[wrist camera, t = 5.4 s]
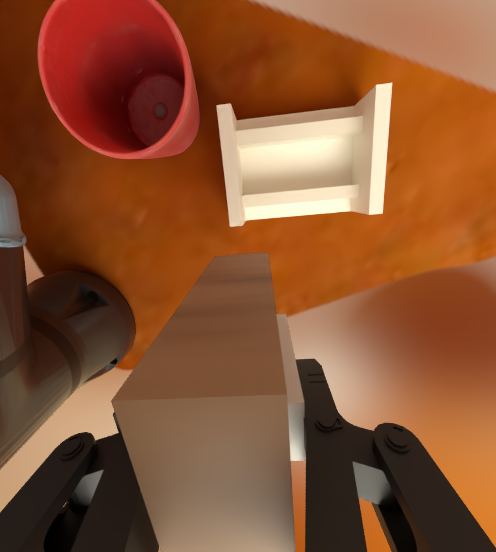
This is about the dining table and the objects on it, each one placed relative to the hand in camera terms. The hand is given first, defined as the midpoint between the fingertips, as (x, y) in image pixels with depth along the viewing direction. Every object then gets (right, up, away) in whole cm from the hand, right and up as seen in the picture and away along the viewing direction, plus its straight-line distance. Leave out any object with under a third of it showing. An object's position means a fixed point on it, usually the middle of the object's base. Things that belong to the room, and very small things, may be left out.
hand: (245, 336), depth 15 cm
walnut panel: (0, +1, +3) cm, 3 cm away
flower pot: (-9, +21, +12) cm, 25 cm away
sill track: (+5, +15, +12) cm, 21 cm away
